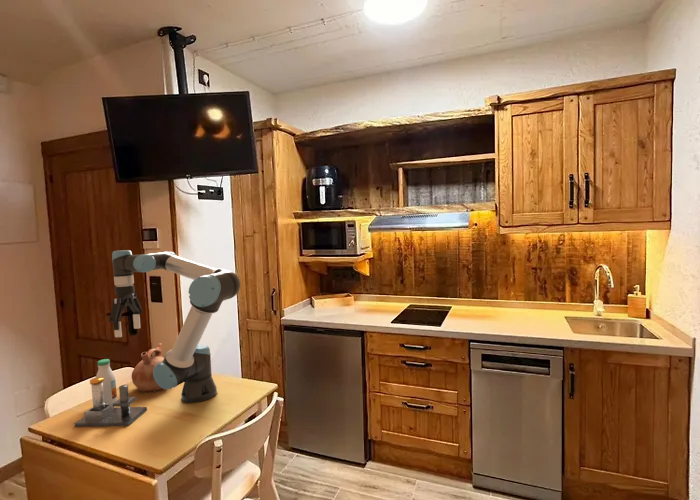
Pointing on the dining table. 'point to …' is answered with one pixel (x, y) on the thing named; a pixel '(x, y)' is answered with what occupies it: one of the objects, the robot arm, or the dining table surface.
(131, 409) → the grey fixture stand
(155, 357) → the jug
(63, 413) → the dining table surface
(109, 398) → the milk bottle
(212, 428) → the dining table surface
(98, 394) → the glass jar
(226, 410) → the dining table surface
